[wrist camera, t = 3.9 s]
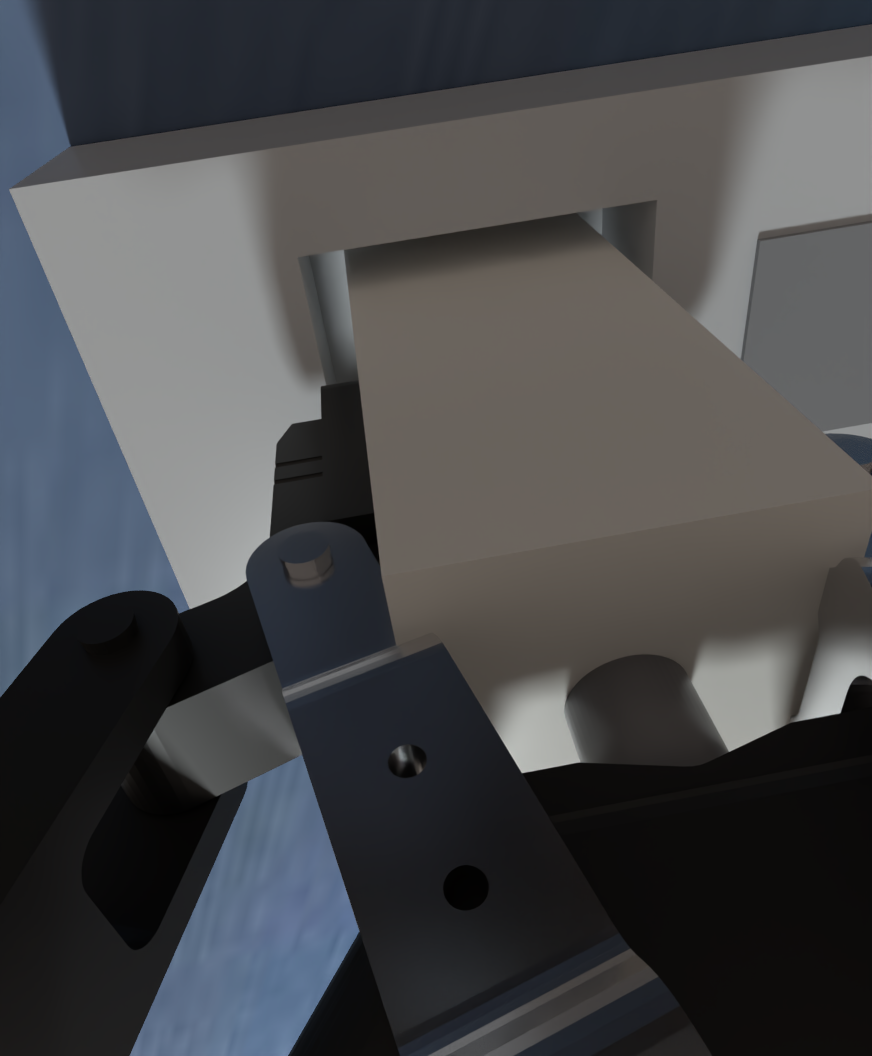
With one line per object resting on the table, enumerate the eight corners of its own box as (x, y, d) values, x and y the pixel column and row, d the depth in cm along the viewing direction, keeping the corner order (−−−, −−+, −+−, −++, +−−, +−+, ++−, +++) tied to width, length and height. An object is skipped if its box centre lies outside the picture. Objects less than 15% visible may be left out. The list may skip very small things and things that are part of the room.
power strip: (1361, -52, 13) (1688, -59, 10) (1148, 376, 18) (1322, 460, 15) (70, 147, 12) (-13, 204, 9) (215, 538, 17) (194, 662, 14)
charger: (569, 207, 13) (1099, 676, 4) (571, 409, 15) (912, 978, 7) (343, 243, 13) (408, 807, 4) (379, 442, 15) (471, 1068, 7)
